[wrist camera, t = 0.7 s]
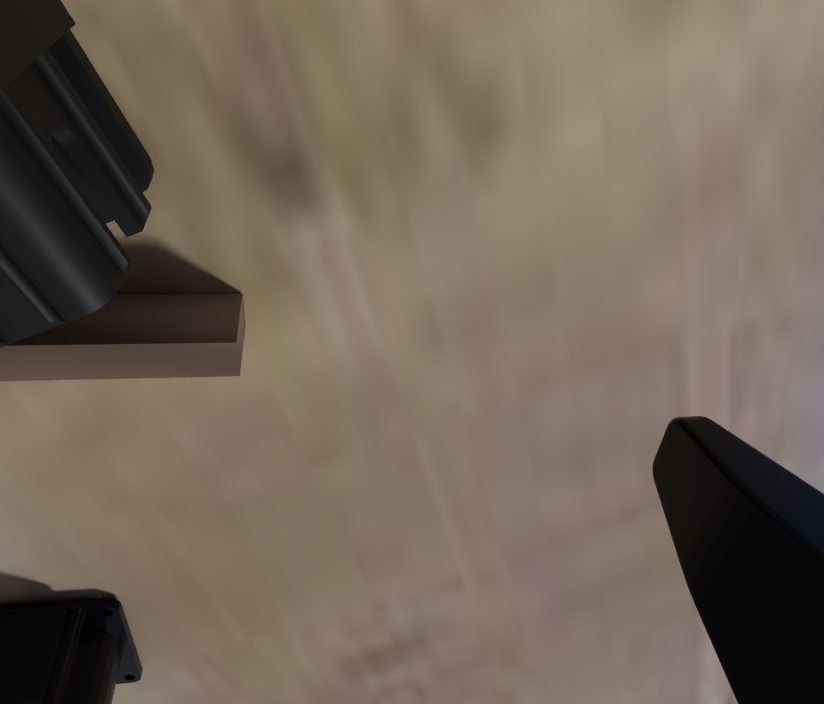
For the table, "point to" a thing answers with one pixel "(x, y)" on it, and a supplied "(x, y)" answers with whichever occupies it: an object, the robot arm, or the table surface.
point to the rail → (136, 341)
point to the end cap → (60, 175)
